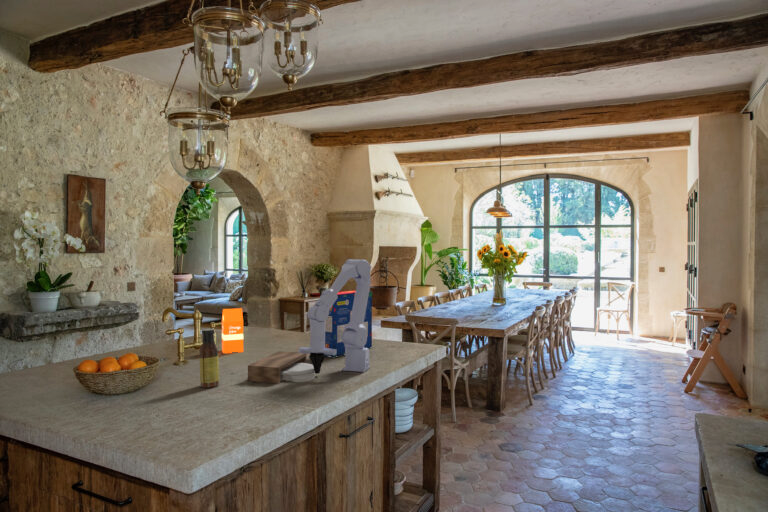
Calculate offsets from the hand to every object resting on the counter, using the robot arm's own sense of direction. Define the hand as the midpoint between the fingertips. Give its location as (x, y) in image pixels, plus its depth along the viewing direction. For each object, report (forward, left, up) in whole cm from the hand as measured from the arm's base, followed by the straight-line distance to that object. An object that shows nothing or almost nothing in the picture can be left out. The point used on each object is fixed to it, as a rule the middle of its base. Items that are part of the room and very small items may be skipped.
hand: (317, 373), depth 189 cm
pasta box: (+3, -46, -2) cm, 46 cm away
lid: (+9, +1, -2) cm, 9 cm away
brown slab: (+16, 0, -1) cm, 16 cm away
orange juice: (+55, -33, -1) cm, 64 cm away
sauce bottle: (+32, +22, -1) cm, 39 cm away
